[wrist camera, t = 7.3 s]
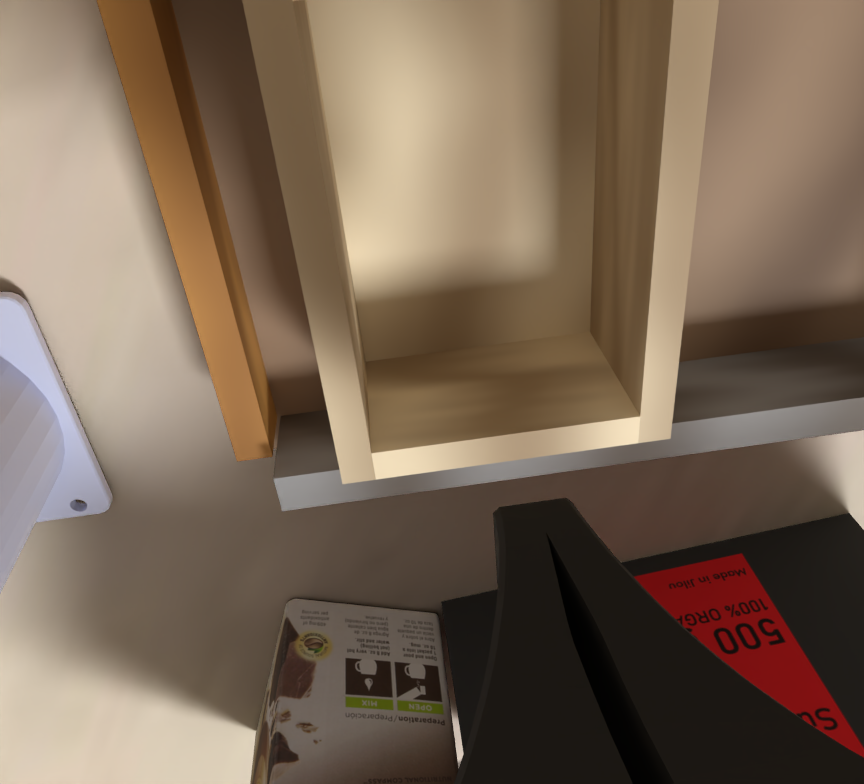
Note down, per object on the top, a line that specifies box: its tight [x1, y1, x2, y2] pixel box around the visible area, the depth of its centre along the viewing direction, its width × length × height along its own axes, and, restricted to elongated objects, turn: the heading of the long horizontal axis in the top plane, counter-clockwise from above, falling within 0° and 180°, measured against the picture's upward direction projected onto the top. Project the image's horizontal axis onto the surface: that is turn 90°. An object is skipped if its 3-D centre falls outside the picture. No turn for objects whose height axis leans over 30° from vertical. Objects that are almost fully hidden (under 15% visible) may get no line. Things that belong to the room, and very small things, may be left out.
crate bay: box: [97, 0, 864, 511], centre depth 18 cm, size 22×16×6 cm
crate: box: [242, 0, 719, 484], centre depth 17 cm, size 8×11×5 cm
